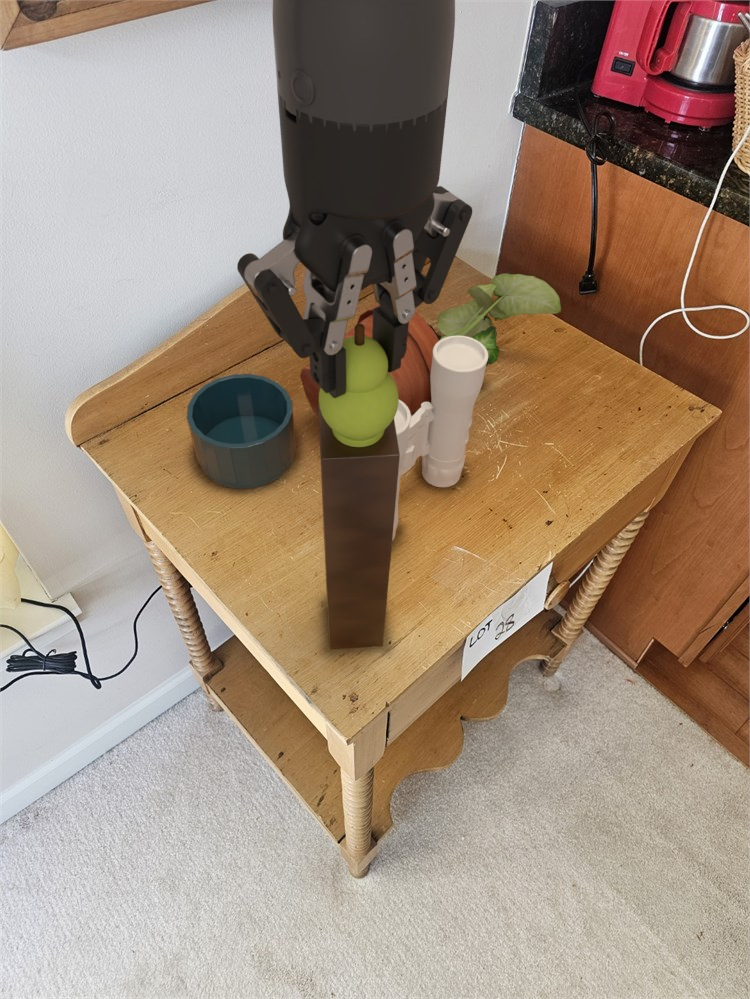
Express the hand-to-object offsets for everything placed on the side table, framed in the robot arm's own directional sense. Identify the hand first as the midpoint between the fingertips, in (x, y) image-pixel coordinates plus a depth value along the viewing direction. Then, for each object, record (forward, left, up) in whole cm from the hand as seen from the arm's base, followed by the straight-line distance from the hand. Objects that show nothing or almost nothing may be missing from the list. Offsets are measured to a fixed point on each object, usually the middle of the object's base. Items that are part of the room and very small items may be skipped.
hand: (358, 375), depth 44 cm
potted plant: (+12, +34, -33) cm, 49 cm away
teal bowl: (-11, +24, -33) cm, 42 cm away
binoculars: (+7, +15, -33) cm, 37 cm away
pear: (0, 0, -5) cm, 5 cm away
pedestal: (0, 0, -33) cm, 33 cm away
